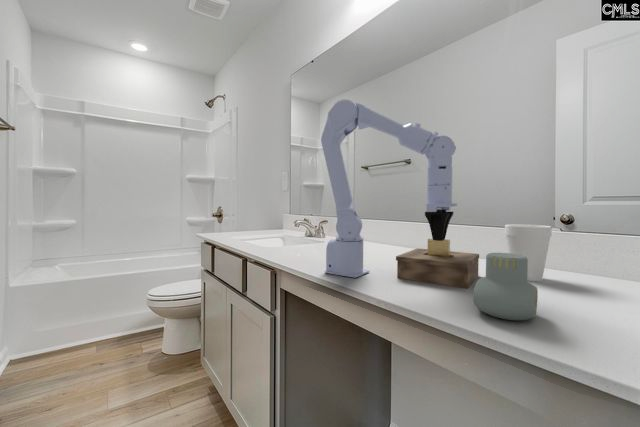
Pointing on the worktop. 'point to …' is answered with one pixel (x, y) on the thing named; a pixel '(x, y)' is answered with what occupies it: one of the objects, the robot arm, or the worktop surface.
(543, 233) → the foam cup
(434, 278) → the money box
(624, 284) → the worktop surface
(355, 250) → the robot arm
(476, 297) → the air freshener
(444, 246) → the yellow block
